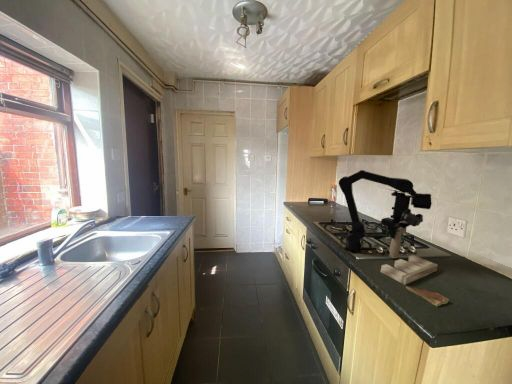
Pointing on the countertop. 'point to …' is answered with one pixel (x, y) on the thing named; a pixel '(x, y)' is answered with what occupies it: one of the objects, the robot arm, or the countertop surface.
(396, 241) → the handle
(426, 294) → the shard
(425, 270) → the notched rail
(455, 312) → the countertop surface
